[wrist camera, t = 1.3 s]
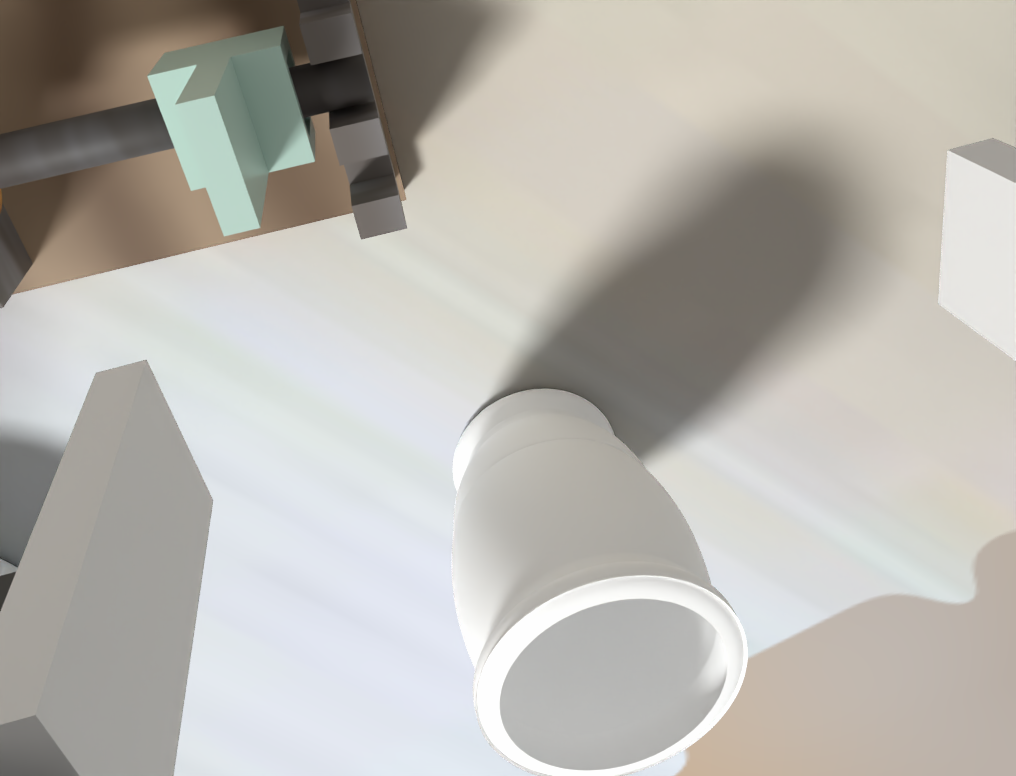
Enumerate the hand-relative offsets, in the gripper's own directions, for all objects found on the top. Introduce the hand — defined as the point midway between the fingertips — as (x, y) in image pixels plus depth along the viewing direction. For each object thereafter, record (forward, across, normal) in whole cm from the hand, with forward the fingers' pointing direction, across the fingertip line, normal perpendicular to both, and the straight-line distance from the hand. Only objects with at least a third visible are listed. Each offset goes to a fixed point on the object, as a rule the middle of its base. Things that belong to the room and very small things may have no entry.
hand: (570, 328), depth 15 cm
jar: (+25, -1, +21) cm, 32 cm away
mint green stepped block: (+21, +6, -1) cm, 22 cm away
